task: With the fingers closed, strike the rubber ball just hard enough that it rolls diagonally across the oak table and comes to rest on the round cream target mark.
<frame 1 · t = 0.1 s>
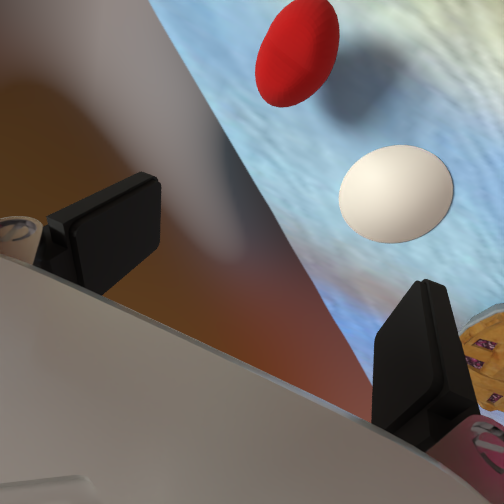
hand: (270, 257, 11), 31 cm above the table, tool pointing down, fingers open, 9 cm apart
target mark: (391, 197, 38), on the table
light bulb: (310, 56, 34), on the table
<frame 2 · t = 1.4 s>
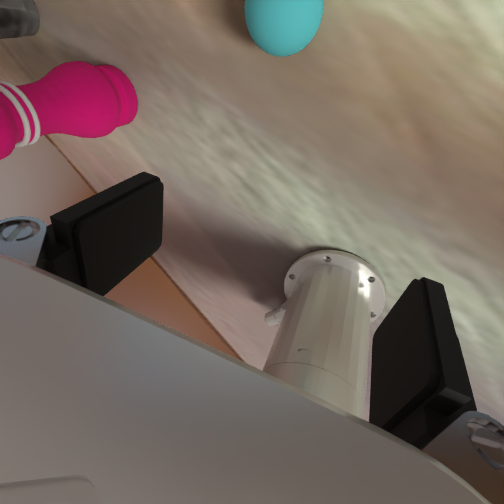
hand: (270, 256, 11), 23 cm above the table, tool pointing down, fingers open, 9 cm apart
ball: (283, 9, 23), on the table
beverage cup: (24, 11, 34), on the table
pepper mill: (116, 96, 36), on the table
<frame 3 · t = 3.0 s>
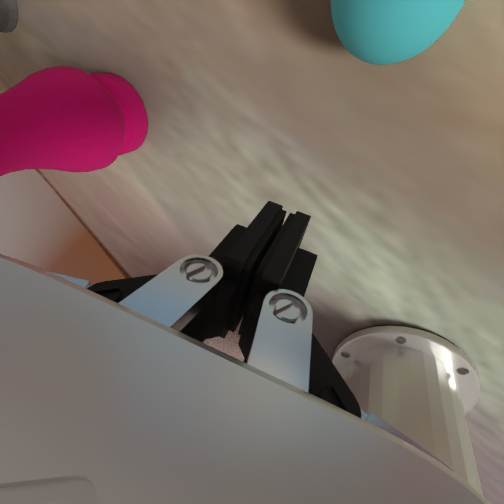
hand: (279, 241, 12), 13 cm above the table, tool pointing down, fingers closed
pepper mill: (119, 114, 26), on the table
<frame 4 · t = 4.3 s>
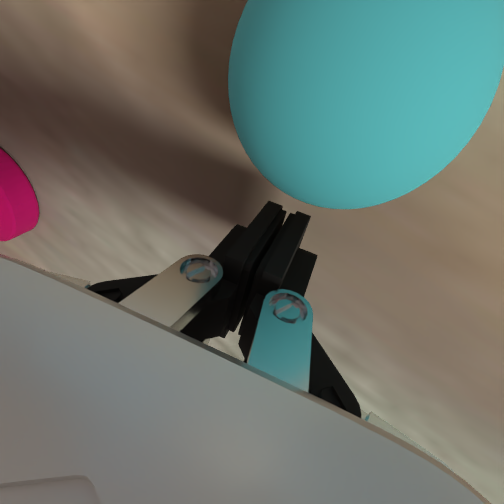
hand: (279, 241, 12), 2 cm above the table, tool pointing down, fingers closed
ball: (349, 87, 7), on the table
pepper mill: (4, 185, 20), on the table
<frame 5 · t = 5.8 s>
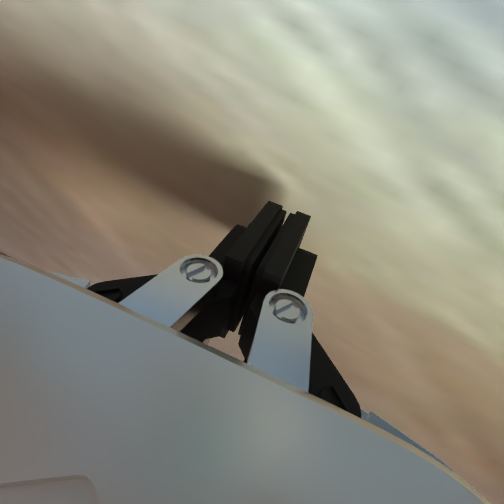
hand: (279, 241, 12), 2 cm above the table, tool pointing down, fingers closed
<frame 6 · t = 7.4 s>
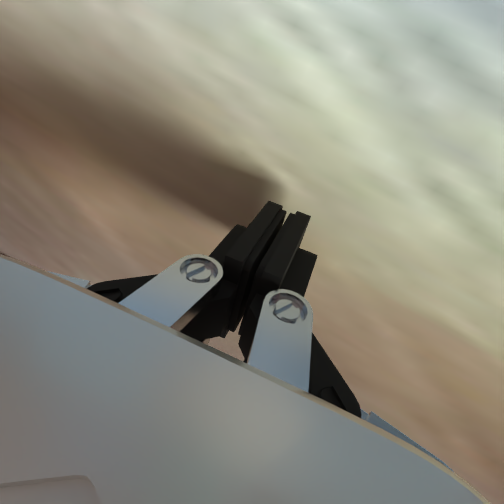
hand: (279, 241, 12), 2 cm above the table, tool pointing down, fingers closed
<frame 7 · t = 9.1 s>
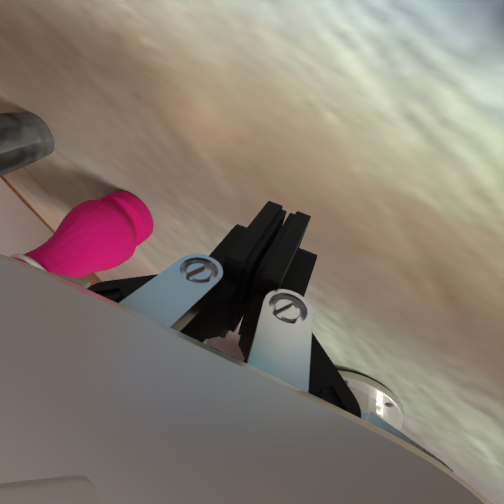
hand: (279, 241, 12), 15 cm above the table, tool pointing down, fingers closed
beverage cup: (38, 134, 33), on the table
pepper mill: (131, 215, 35), on the table
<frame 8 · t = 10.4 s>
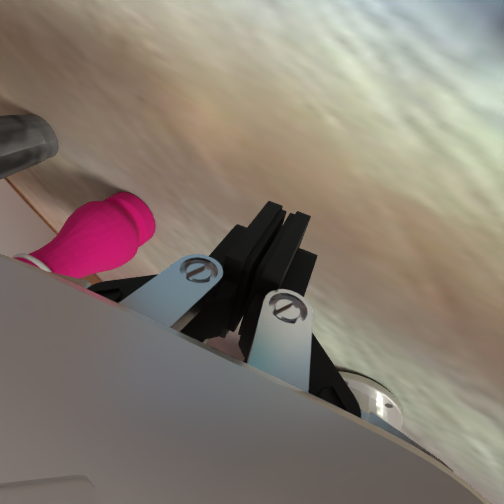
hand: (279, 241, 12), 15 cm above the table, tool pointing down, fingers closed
beverage cup: (42, 136, 34), on the table
pepper mill: (134, 216, 35), on the table
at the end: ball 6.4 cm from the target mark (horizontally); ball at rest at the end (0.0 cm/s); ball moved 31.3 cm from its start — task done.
